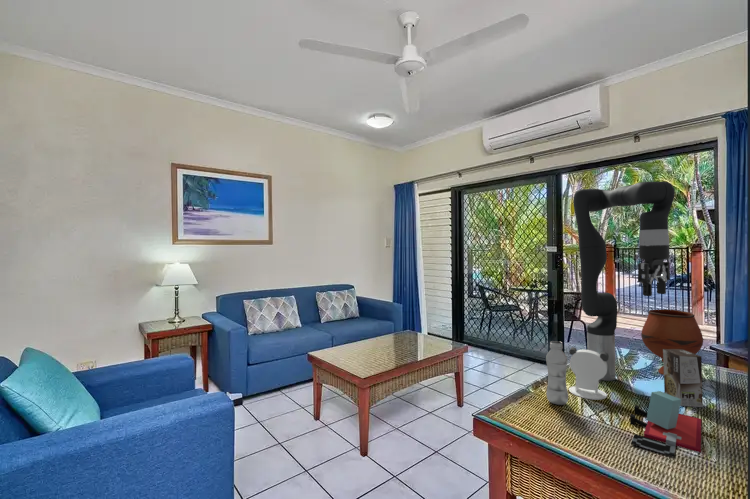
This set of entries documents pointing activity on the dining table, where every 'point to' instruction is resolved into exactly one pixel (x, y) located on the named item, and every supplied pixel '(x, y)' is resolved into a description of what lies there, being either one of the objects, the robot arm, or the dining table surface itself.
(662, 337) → the terracotta clay pot
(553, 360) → the plastic bottle
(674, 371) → the coffee box
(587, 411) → the dining table surface
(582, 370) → the white round-based fixture
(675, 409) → the teal block
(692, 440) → the red board with handle
